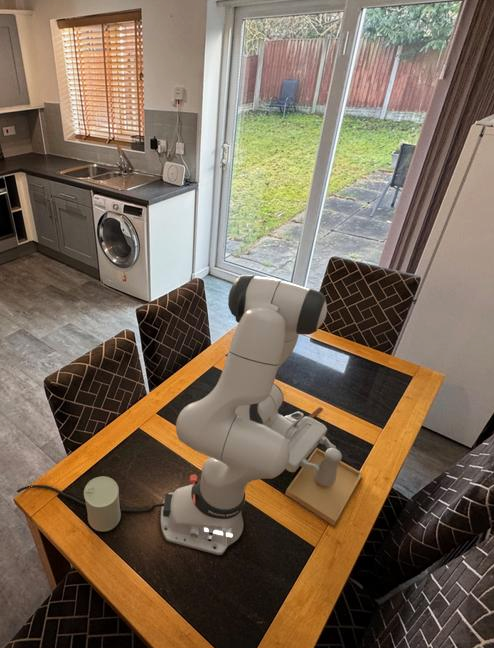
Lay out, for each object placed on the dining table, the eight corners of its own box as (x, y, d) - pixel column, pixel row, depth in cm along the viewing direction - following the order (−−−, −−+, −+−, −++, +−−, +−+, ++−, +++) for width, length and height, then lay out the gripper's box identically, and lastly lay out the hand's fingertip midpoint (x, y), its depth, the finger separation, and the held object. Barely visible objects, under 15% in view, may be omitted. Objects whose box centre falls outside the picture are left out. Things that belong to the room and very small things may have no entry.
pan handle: (305, 426, 135) (305, 424, 134) (301, 423, 136) (302, 422, 135) (322, 410, 141) (323, 408, 140) (318, 408, 142) (319, 406, 141)
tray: (333, 526, 109) (336, 521, 107) (284, 494, 117) (286, 489, 115) (360, 478, 121) (362, 473, 119) (314, 452, 129) (316, 447, 127)
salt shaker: (335, 491, 116) (347, 463, 109) (314, 488, 117) (325, 459, 110) (331, 474, 121) (343, 445, 113) (311, 471, 122) (322, 442, 114)
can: (90, 500, 116) (86, 474, 109) (122, 500, 116) (120, 475, 109) (85, 531, 108) (80, 506, 101) (119, 532, 108) (117, 506, 101)
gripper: (266, 445, 115) (311, 474, 107) (301, 408, 126) (345, 432, 118) (262, 459, 118) (306, 489, 110) (297, 422, 130) (339, 446, 122)
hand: (327, 459), depth 114 cm, fingers open, 8 cm apart
